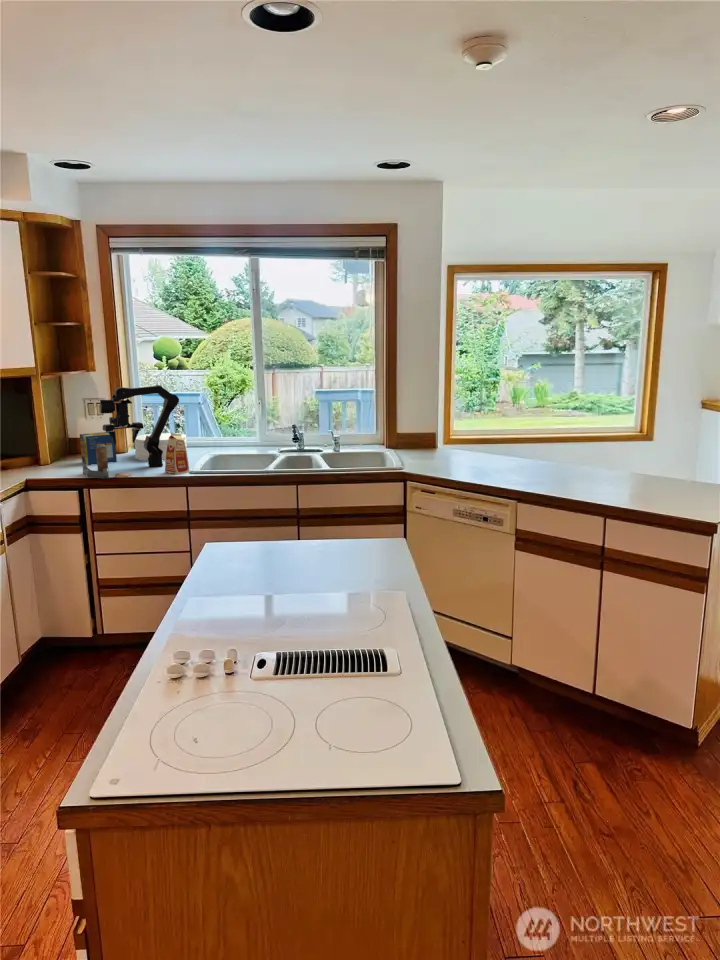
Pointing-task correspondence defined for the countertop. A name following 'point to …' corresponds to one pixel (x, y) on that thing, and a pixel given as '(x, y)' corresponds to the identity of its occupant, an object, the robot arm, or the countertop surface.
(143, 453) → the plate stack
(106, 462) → the pepper mill
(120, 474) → the trivet
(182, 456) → the milk carton
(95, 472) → the gray curved bracket
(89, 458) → the protein box
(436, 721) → the countertop surface
